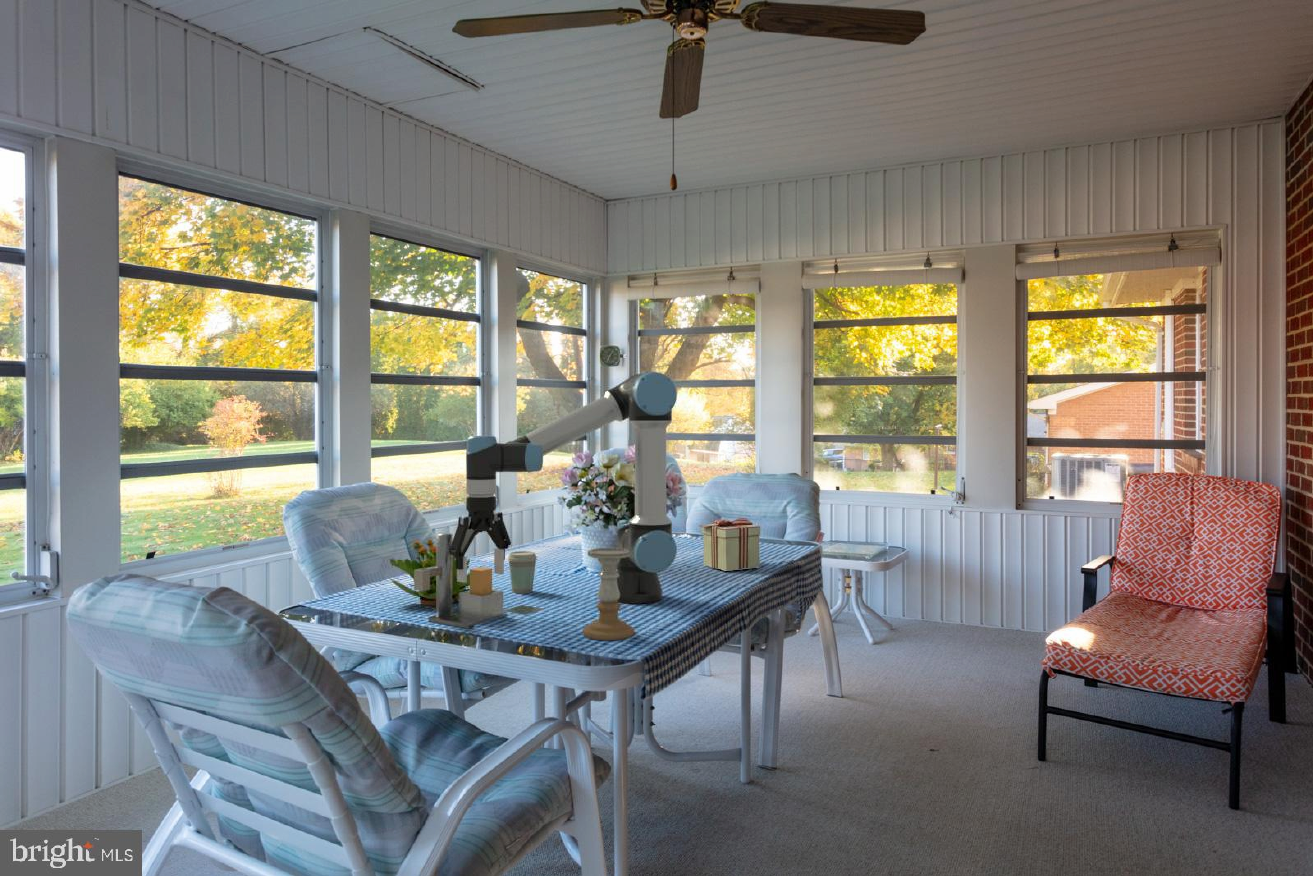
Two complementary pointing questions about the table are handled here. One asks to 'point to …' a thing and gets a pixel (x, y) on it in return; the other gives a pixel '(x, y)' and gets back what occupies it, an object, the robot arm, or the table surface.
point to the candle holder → (608, 598)
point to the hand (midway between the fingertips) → (481, 577)
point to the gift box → (731, 544)
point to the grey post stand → (469, 605)
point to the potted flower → (430, 561)
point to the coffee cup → (522, 571)
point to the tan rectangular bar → (481, 581)
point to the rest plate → (523, 609)
